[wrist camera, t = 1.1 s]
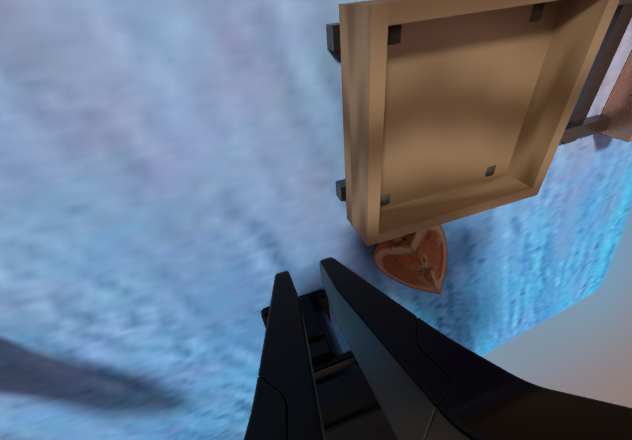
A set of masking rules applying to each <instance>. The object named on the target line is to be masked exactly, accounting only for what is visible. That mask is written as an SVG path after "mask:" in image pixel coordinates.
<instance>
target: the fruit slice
mask: <svg viewBox="0 0 632 440" xmlns="http://www.w3.org/2000/svg"><path fill="white" fill-rule="evenodd" d="M374 262H375V264H376V266H377V267H378V268H379V270H380V271H381V272H383V273H384V274H385V275H387V276H389V277H390V278H392V279H394V280H396V281H398V282H399V283H401V284H404V285H406V286H409V287H412V288H415V289H418V290H422V291H426V292H430V293H437V294H440V292H441V289H442V285H443V281H444V277H445V272H446V265H447V244H446V238H445V234H444V231H443V229H442V227H441V225H437V226H433V227H430V228H427V229H423V230H420V231H417V232H414V233H410V234H407V235H404V236H401V237H397V238H394V239H391V240H388V241H384V242H381V243H378V245H377V247H376V249H375V252H374Z"/></svg>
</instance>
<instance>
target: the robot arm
mask: <svg viewBox="0 0 632 440" xmlns="http://www.w3.org/2000/svg"><path fill="white" fill-rule="evenodd" d="M320 271H321V279H322V283H323V286H324V288H325V290H320V291H316V292H313V293H310V294H307V295H304V296H301V297H298V294H297V292H296V289H295V287H294V284H293V281H292V279H291V276H290V274H289V272H288V271H284V272H280V273H277V274H276V275H275V280H274V286H273V292H272V298H271V303H270V307H267V308H265V309H263V310H262V311H261V315H262V319H263V321H264V324H265V327H266V333H265V339H264V344H263V350H262V356H261V362H260V368H259V374H258V375H259V377H258V379H257V385H256V390H255V396H254V400H253V405H252V410H251V415H250V419H249V423H248V426H247V430H246V434H245V438H244V440H632V408H629V407H625V406H621V405H616V404H612V403H607V402H603V401H599V400H594V399H590V398H586V397H581V396H577V395H573V394H568V393H564V392H559V391H555V390H550V389H547V388H543V387H540V386H537V385H535V384H532V383H529V382H527V381H525V380H523V379H520V378H518V377H516V376H515V375H513V374H511V373H509V372H507V371H505V370H504V369H502V368H500V367H498V366H496V365H495V364H493V363H491V362H490V361H488V360H486V359H484V358H483V357H481V356H479V355H477V354H476V353H474V352H472V351H470V350H468V349H467V348H465V347H463V346H462V345H460V344H458V343H457V342H455V341H453V340H451V339H450V338H448V337H446V336H445V335H443V334H442V333H440V332H439V331H437V330H436V329H434V328H433V327H431V326H430V325H428V324H427V323H425V322H424V321H423V320H421V319H420V318H417V317H416V316H415V315H414V314H412V313H411V312H410V311H408V310H407V309H405V308H404V307H402V306H401V305H400V304H398V303H397V302H395V301H394V300H392V299H391V298H390V297H388V296H387V295H385V294H384V293H382V292H381V291H380V290H378V289H377V288H375V287H374V286H372V285H371V284H370V283H368V282H367V281H365V280H364V279H362V278H361V277H360V276H358V275H357V274H355V273H354V272H352V271H351V270H349V269H348V268H347V267H345V266H344V265H342V264H341V263H339V262H338V261H337V260H335V259H334V258H332V257H329V258H326V259H323V260H321V261H320ZM328 299H329V302H330V304H331V307H332V310H333V312H334V315H335V318H336V320H337V322H338V325H339V327H340V329H341V331H342V333H343V335H344V337H345V339H346V341H347V343H348V345H349V347H350V349H351V351H349V352H346V353H343V351H342V349H341V347H340V344H339V342H338V340H337V337H336V335H335V333H334V330H333V328H332V325H331V321H330V312H329V303H328Z"/></svg>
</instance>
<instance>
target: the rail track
mask: <svg viewBox="0 0 632 440" xmlns="http://www.w3.org/2000/svg"><path fill="white" fill-rule="evenodd" d="M631 18H632V0H620V1H619V3H618V6H617V8H616V11H615V13H614V15H613V18H612V20H611V22H610V25H609V27H608V29H607V32H606V34H605V36H604V39H603V41H602V44H601V46H600V48H599V51H598V53H597V55H596V58H595V60H594V62H593V65H592V67H591V69H590V72H589V74H588V77H587V79H586V81H585V84H584V86H583V88H582V91H581V93H580V95H579V98H578V100H577V103H576V105H575V107H574V110H573V112H572V114H571V117H570V119H569V121H568V124H567V126H566V128H565V131H564V133H563V136H562V138H561V140H560V143H562V144H565V143H569V142H573V141H575V140H576V138H580V137H583V136H587V135H591V134H595V133H600V134H604V135H607V136H610V137H613V138H616V139H619V140H622V141H626V142H630V141H632V51H631V53H630V55H629V57H628V60H627V62H626V64H625V66H624V68H623V70H622V72H621V74H620V76H619V78H618V80H617V82H616V84H615V86H614V88H613V91H612V93H611V95H610V97H609V99H608V101H607V103H606V105H605V107H604V109H603V111H602V113H601V115H597V116H593V117H589V118H586V116H587V114H588V112H589V110H590V107H591V105H592V103H593V101H594V99H595V97H596V94H597V92H598V90H599V88H600V86H601V83H602V81H603V79H604V77H605V75H606V72H607V70H608V68H609V66H610V64H611V61H612V59H613V57H614V55H615V53H616V50H617V48H618V46H619V44H620V42H621V40H622V37H623V35H624V33H625V31H626V29H627V26H628V24H629V22H630V20H631ZM326 29H327V46H328V49H329V50H332V51H339V50H341V46H340V23H333V24H326ZM336 194H337V196H338V198H339V199H340V200H341V201H345V200H346V179H344V180H340V181H336Z"/></svg>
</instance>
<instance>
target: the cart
mask: <svg viewBox="0 0 632 440" xmlns="http://www.w3.org/2000/svg"><path fill="white" fill-rule="evenodd" d="M619 1H620V0H369V1H362V2H354V3H346V4H339V20H340V46H341V73H342V99H343V126H344V152H345V179H346V205H347V219H348V220H349V222H350V223H351V225H352V226H353V227H354V229H355V230H356V232H357V233H358V234H359V236H360V237H361V239H362V240H363V241H364V243H365V244H366V246H367V247H368V246H371V245H374V244H378V243H381V242H384V241H388V240H391V239H394V238H397V237H401V236H404V235H407V234H410V233H414V232H417V231H420V230H423V229H427V228H430V227H433V226H437V225H440V224H443V223H446V222H450V221H453V220H456V219H459V218H463V217H466V216H469V215H472V214H476V213H479V212H482V211H486V210H489V209H492V208H495V207H499V206H502V205H505V204H508V203H512V202H515V201H518V200H522V199H525V198H528V197H531V196H535V195H537V194H538V192H539V190H540V187H541V185H542V183H543V180H544V178H545V176H546V173H547V171H548V169H549V166H550V164H551V161H552V159H553V157H554V154H555V152H556V150H557V147H558V145H559V143H560V140H561V138H562V136H563V133H564V131H565V128H566V126H567V124H568V121H569V119H570V117H571V114H572V112H573V110H574V107H575V105H576V103H577V100H578V98H579V95H580V93H581V91H582V88H583V86H584V84H585V81H586V79H587V77H588V74H589V72H590V69H591V67H592V65H593V62H594V60H595V58H596V55H597V53H598V51H599V48H600V46H601V44H602V41H603V39H604V36H605V34H606V32H607V29H608V27H609V25H610V22H611V20H612V18H613V15H614V13H615V11H616V8H617V6H618V3H619Z"/></svg>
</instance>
